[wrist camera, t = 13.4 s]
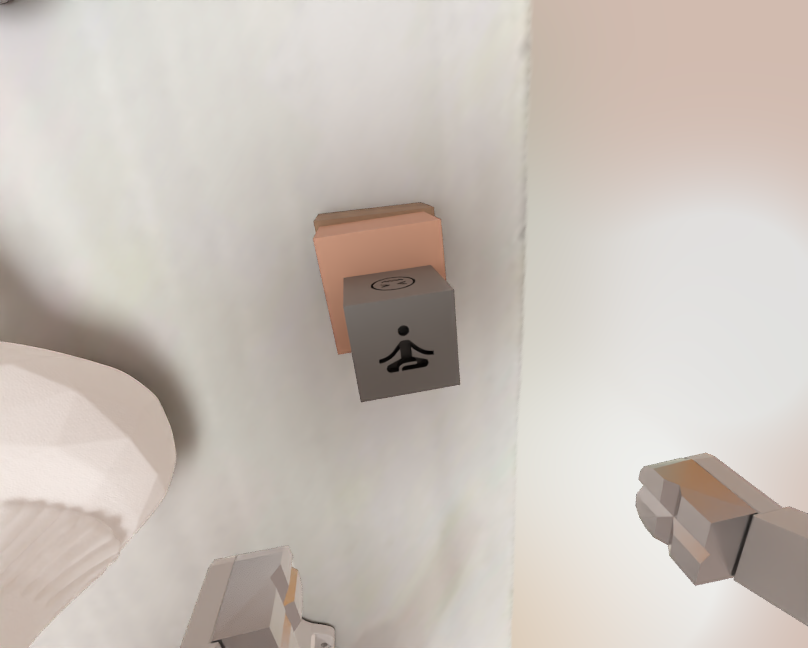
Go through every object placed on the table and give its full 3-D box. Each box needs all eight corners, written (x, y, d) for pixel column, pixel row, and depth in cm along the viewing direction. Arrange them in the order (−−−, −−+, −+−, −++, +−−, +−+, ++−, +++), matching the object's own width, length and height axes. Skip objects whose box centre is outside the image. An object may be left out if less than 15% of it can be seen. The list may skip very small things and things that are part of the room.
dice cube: (357, 356, 23) (360, 402, 18) (343, 277, 21) (343, 306, 17) (437, 343, 23) (460, 384, 19) (430, 264, 22) (453, 289, 17)
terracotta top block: (433, 308, 28) (450, 334, 23) (339, 324, 27) (338, 354, 23) (423, 211, 25) (440, 219, 21) (318, 226, 25) (313, 238, 20)
